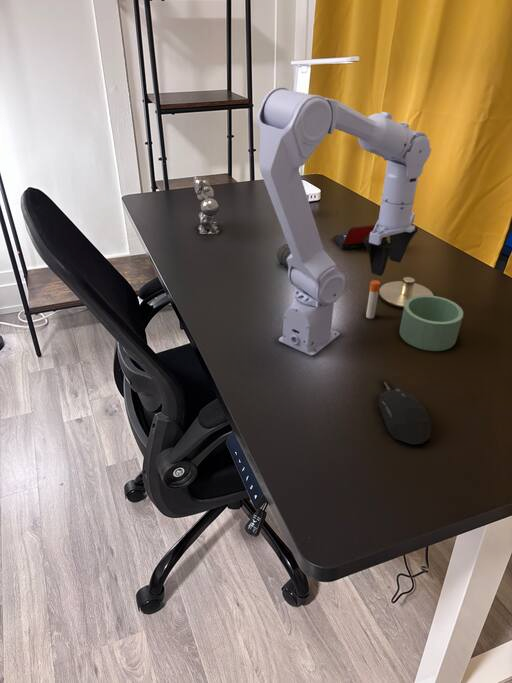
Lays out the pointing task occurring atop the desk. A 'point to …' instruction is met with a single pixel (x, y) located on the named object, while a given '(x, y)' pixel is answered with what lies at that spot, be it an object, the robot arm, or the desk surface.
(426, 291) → the canister lid
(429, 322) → the canister
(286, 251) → the flashlight
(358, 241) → the handheld console
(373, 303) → the marker
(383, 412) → the gaming mouse
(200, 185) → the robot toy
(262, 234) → the desk surface
